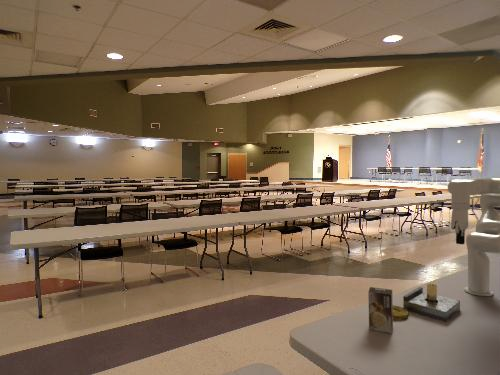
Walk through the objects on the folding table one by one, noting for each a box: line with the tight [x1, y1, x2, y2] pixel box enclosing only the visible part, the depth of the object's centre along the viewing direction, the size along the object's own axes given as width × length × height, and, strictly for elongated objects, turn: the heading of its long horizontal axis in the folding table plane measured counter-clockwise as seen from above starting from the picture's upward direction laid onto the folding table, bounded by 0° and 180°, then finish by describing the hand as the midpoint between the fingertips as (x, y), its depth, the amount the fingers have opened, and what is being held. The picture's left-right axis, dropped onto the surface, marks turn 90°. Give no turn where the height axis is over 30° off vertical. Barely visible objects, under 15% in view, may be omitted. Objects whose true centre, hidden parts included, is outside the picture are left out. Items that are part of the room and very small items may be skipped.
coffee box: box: [367, 286, 394, 334], centre depth 137 cm, size 9×6×16 cm
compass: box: [393, 304, 409, 321], centre depth 151 cm, size 12×12×2 cm
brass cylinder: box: [426, 282, 438, 303], centre depth 154 cm, size 4×4×10 cm
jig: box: [402, 286, 461, 323], centre depth 154 cm, size 18×18×6 cm
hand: (460, 243), depth 161 cm, fingers closed
